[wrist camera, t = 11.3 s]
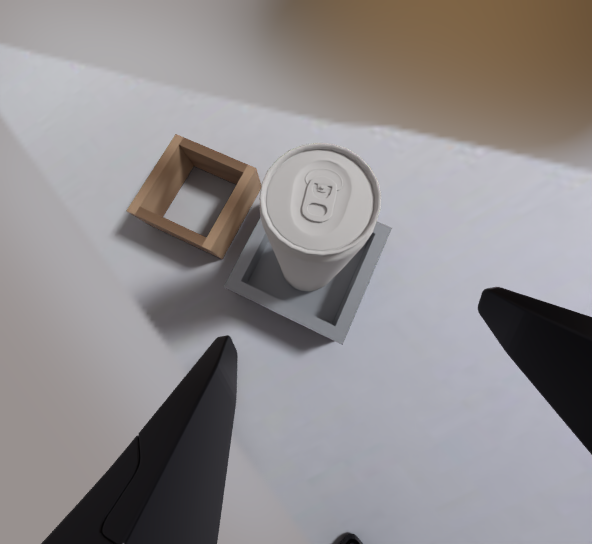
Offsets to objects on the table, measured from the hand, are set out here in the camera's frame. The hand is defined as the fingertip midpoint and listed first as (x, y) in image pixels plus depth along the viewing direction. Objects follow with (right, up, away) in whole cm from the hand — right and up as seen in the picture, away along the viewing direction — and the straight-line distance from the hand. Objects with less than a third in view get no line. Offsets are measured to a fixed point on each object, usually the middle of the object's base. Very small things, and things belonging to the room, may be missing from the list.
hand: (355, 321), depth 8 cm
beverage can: (-1, +2, +12) cm, 13 cm away
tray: (-1, +2, +13) cm, 14 cm away
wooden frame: (-11, +8, +15) cm, 20 cm away
